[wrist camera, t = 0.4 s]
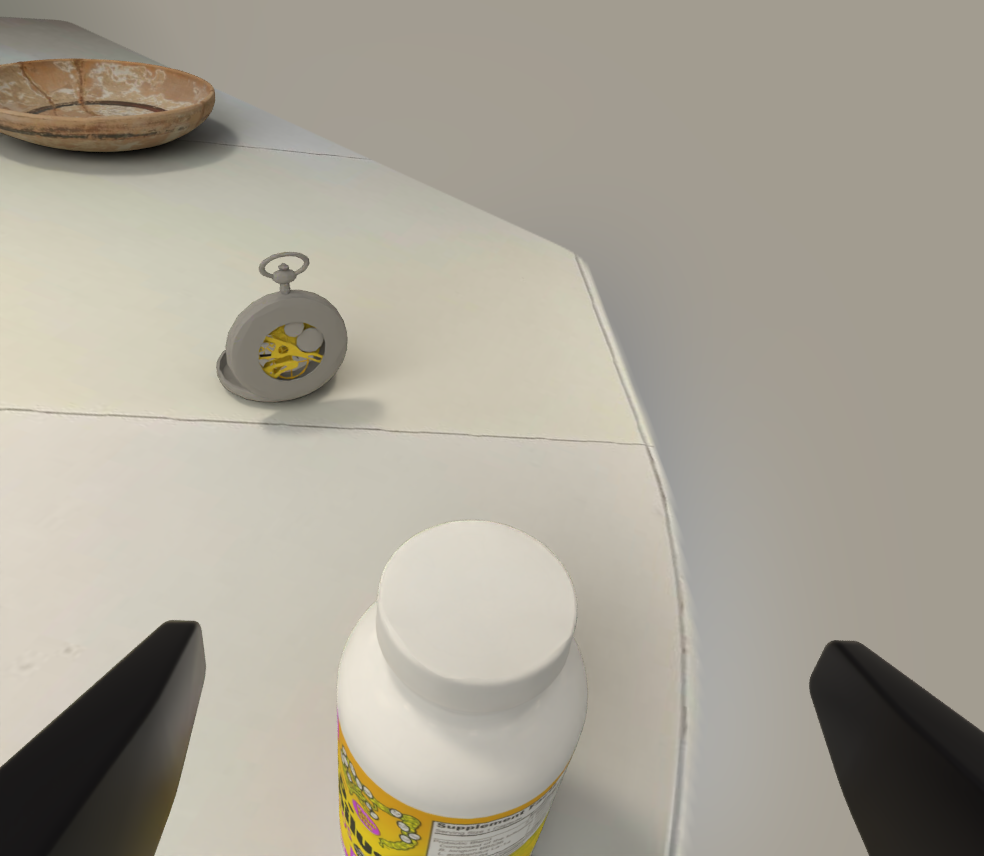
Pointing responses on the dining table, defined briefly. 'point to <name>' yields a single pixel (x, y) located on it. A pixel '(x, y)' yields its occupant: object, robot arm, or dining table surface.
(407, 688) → the supplement bottle
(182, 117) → the ceramic bowl
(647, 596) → the dining table surface
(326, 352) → the pocket watch
